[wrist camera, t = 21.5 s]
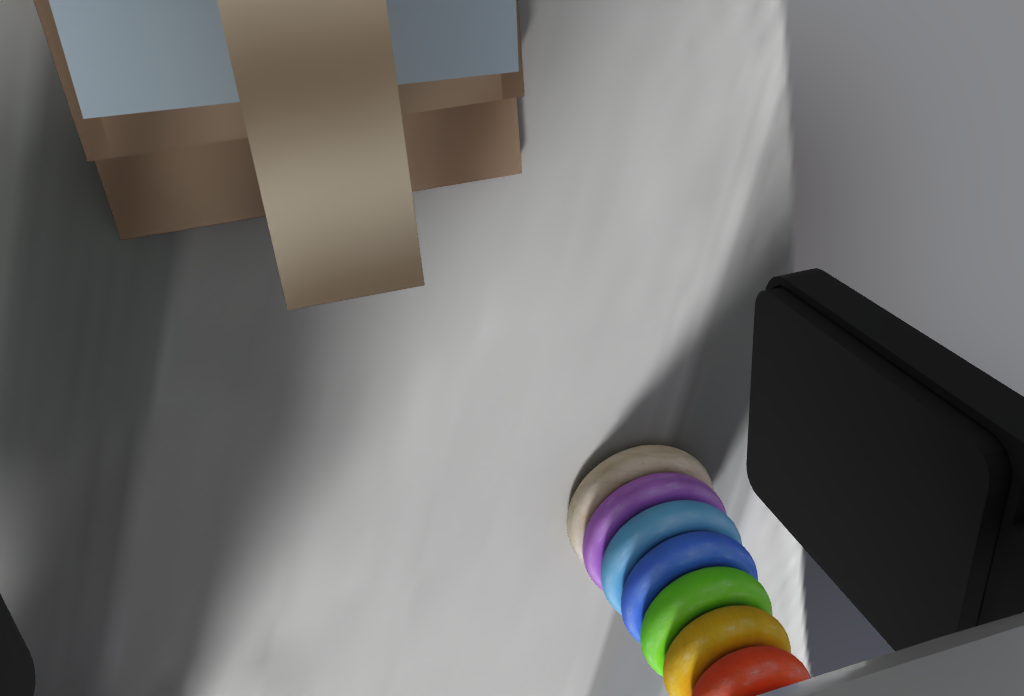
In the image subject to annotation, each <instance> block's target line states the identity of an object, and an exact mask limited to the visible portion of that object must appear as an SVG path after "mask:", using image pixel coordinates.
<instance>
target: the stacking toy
mask: <svg viewBox="0 0 1024 696" xmlns="http://www.w3.org/2000/svg"><path fill="white" fill-rule="evenodd" d="M567 533H568V538H569V541H570V544H571V546H572V548H573V550H574V552H575V553H576V555H577V556H578V557H579V559H580V560H581V561H582V562H583V563H584V564H585V567H586V570H587V572H588V574H589V575H590V577H591V579H592V580H593V581H594V583H595V584H596V585H597V586H598V587H599V588H600V589H601V590H603V591H604V593H605V596H606V598H607V600H608V601H609V603H610V604H611V605H612V606H613V608H614V609H615V610H616V611H617V612H619V613H620V614H621V615H622V617H623V621H624V624H625V626H626V627H627V629H628V631H629V633H630V634H631V635H632V636H633V637H634V638H635V639H636V640H637V641H638V642H639V643H640V644H641V647H642V651H643V654H644V656H645V658H646V660H647V662H648V663H649V664H650V666H651V667H652V668H653V670H655V671H656V672H657V673H658V674H659V675H661V676H663V679H664V684H665V687H666V689H667V692H668V693H669V695H670V696H757V695H760V694H763V693H766V692H769V691H772V690H776V689H779V688H782V687H785V686H788V685H791V684H794V683H798V682H801V681H804V680H807V679H810V678H811V677H810V675H809V673H808V671H807V669H806V668H805V666H804V665H803V663H802V662H801V661H800V660H798V659H797V658H796V657H795V656H794V655H792V654H791V647H790V642H789V638H788V635H787V633H786V631H785V629H784V628H783V626H782V625H781V624H780V623H779V621H778V620H777V619H776V618H774V617H773V616H772V606H771V602H770V599H769V596H768V594H767V592H766V591H765V589H764V587H763V586H762V585H761V584H760V583H759V582H758V575H757V569H756V566H755V563H754V561H753V559H752V557H751V555H750V554H749V552H748V551H747V550H746V549H745V548H744V547H743V545H742V542H741V537H740V534H739V532H738V530H737V528H736V526H735V524H734V523H733V522H732V520H731V519H730V518H729V517H728V516H727V514H726V511H725V508H724V505H723V503H722V501H721V500H720V498H719V497H718V495H717V494H716V493H715V492H714V489H713V485H712V481H711V479H710V477H709V475H708V473H707V471H706V469H705V468H704V467H703V465H702V464H701V463H700V462H699V461H698V460H697V459H695V458H694V457H693V456H691V455H690V454H688V453H687V452H685V451H682V450H680V449H677V448H674V447H670V446H665V445H643V446H637V447H633V448H629V449H626V450H624V451H621V452H619V453H616V454H614V455H612V456H611V457H609V458H607V459H606V460H604V461H603V462H601V463H600V464H599V465H597V466H596V467H595V468H594V469H593V470H592V471H590V472H589V474H588V475H587V476H586V477H585V478H584V479H583V481H582V482H581V483H580V485H579V486H578V488H577V489H576V491H575V493H574V495H573V497H572V499H571V502H570V505H569V509H568V513H567Z"/></svg>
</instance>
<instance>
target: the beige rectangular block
mask: <svg viewBox="0 0 1024 696" xmlns="http://www.w3.org/2000/svg"><path fill="white" fill-rule="evenodd" d="M217 4H218V8H219V13H220V17H221V21H222V26H223V30H224V34H225V39H226V43H227V48H228V52H229V56H230V61H231V65H232V69H233V74H234V78H235V83H236V87H237V91H238V96H239V100H240V104H241V109H242V113H243V118H244V122H245V126H246V131H247V135H248V139H249V144H250V148H251V153H252V157H253V161H254V166H255V170H256V174H257V179H258V183H259V188H260V192H261V196H262V201H263V205H264V209H265V214H266V218H267V223H268V227H269V231H270V236H271V240H272V245H273V249H274V253H275V258H276V262H277V266H278V271H279V275H280V280H281V284H282V288H283V293H284V297H285V301H286V306H287V310H293V309H298V308H304V307H309V306H314V305H320V304H325V303H331V302H336V301H342V300H347V299H353V298H358V297H363V296H369V295H374V294H380V293H385V292H391V291H396V290H402V289H407V288H412V287H418V286H423V285H424V278H423V270H422V263H421V255H420V248H419V241H418V233H417V226H416V219H415V211H414V204H413V196H412V189H411V182H410V174H409V167H408V160H407V152H406V145H405V137H404V130H403V123H402V115H401V108H400V101H399V93H398V86H397V78H396V71H395V64H394V56H393V49H392V42H391V34H390V27H389V20H388V12H387V5H386V0H217Z"/></svg>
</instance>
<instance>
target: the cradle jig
mask: <svg viewBox="0 0 1024 696" xmlns="http://www.w3.org/2000/svg"><path fill="white" fill-rule="evenodd" d="M34 3H35V6H36V9H37V12H38V15H39V18H40V21H41V24H42V27H43V30H44V33H45V36H46V39H47V42H48V45H49V48H50V51H51V54H52V57H53V60H54V63H55V66H56V69H57V72H58V75H59V78H60V81H61V84H62V87H63V90H64V93H65V96H66V99H67V102H68V105H69V108H70V111H71V114H72V117H73V120H74V123H75V126H76V129H77V132H78V135H79V138H80V141H81V144H82V147H83V150H84V153H85V156H86V159H87V162H88V161H95V164H96V167H97V170H98V173H99V176H100V179H101V182H102V185H103V188H104V191H105V194H106V197H107V200H108V203H109V206H110V209H111V212H112V215H113V218H114V221H115V224H116V227H117V230H118V233H119V236H120V240H125V239H131V238H137V237H143V236H149V235H155V234H161V233H167V232H172V231H178V230H184V229H190V228H196V227H202V226H208V225H214V224H220V223H226V222H232V221H238V220H244V219H250V218H256V217H262V216H266V214H265V209H264V205H263V201H262V196H261V192H260V188H259V183H258V179H257V174H256V170H255V166H254V161H253V157H252V153H251V148H250V144H249V139H248V135H247V131H246V126H245V122H244V118H243V113H242V109H241V104H240V102H234V103H225V104H216V105H206V106H197V107H188V108H179V109H170V110H160V111H151V112H142V113H133V114H124V115H114V116H105V117H96V118H87V119H83V116H82V112H81V109H80V106H79V102H78V99H77V95H76V92H75V88H74V85H73V82H72V78H71V75H70V71H69V68H68V64H67V61H66V58H65V54H64V51H63V47H62V44H61V41H60V37H59V34H58V30H57V27H56V23H55V20H54V17H53V13H52V10H51V6H50V3H49V0H34ZM516 12H517V38H518V63H519V72H510V73H501V74H491V75H482V76H473V77H464V78H455V79H445V80H436V81H427V82H418V83H409V84H399V85H397V86H398V93H399V101H400V108H401V115H402V123H403V130H404V137H405V145H406V152H407V160H408V167H409V174H410V182H411V189H412V191H418V190H424V189H430V188H436V187H442V186H448V185H454V184H460V183H466V182H472V181H478V180H484V179H490V178H496V177H502V176H508V175H514V174H520V173H522V166H521V152H520V138H519V125H518V111H517V97H524V83H523V69H522V54H521V39H520V24H519V10H518V0H516Z"/></svg>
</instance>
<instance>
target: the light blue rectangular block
mask: <svg viewBox="0 0 1024 696" xmlns="http://www.w3.org/2000/svg"><path fill="white" fill-rule="evenodd" d="M49 3H50V6H51V10H52V13H53V17H54V20H55V23H56V27H57V30H58V34H59V37H60V41H61V44H62V47H63V51H64V54H65V58H66V61H67V64H68V68H69V71H70V75H71V78H72V82H73V85H74V88H75V92H76V95H77V99H78V102H79V106H80V109H81V112H82V116H83V119H87V118H96V117H105V116H114V115H124V114H133V113H142V112H151V111H160V110H170V109H179V108H188V107H197V106H206V105H216V104H225V103H234V102H240V100H239V96H238V91H237V87H236V83H235V78H234V74H233V69H232V65H231V61H230V56H229V52H228V48H227V43H226V39H225V34H224V30H223V26H222V21H221V17H220V13H219V8H218V4H217V0H49ZM386 5H387V12H388V20H389V27H390V34H391V42H392V49H393V56H394V64H395V71H396V78H397V85H399V84H409V83H418V82H427V81H436V80H445V79H455V78H464V77H473V76H482V75H491V74H501V73H510V72H519V63H518V38H517V12H516V0H386Z"/></svg>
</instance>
